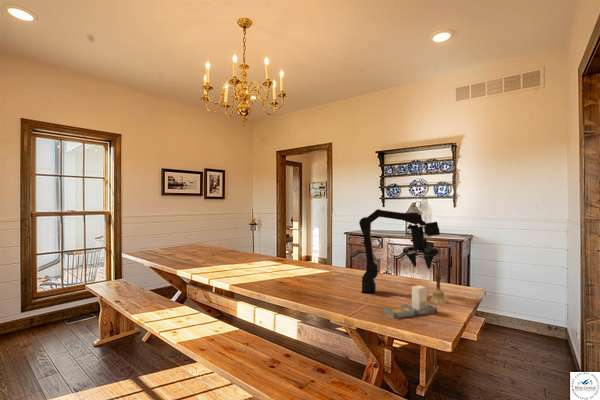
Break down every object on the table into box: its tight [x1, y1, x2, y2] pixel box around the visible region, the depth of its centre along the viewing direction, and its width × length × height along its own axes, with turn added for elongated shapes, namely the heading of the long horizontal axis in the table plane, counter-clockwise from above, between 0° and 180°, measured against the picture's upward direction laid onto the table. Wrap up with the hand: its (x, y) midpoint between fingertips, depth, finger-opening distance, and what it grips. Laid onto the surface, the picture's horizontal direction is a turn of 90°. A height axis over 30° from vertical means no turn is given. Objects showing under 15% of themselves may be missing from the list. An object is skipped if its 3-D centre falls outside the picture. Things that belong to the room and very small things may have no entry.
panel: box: [382, 303, 438, 319], centre depth 135 cm, size 21×11×3 cm, turn 107°
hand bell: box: [429, 268, 448, 304], centre depth 149 cm, size 8×8×16 cm
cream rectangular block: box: [411, 284, 428, 310], centre depth 137 cm, size 4×4×10 cm
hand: (422, 267), depth 160 cm, fingers open, 9 cm apart
